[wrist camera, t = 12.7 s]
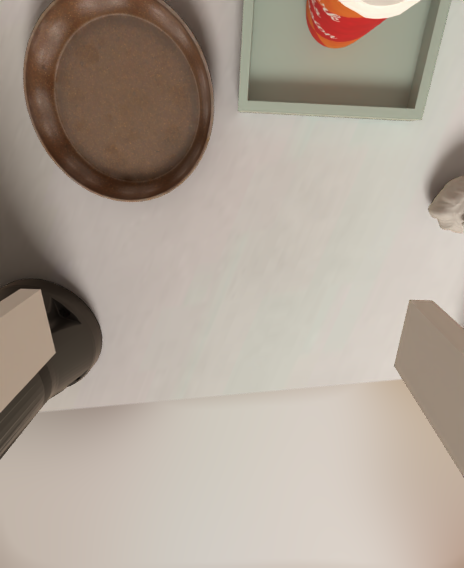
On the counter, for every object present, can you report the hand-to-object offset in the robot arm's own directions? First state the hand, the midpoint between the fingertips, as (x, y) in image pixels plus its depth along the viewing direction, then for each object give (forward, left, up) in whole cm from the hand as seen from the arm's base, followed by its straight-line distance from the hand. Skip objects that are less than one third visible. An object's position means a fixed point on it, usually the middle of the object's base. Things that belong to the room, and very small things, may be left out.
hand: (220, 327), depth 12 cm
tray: (+6, +17, -26) cm, 31 cm away
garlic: (+20, +2, -26) cm, 33 cm away
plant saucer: (-13, +9, -26) cm, 30 cm away
